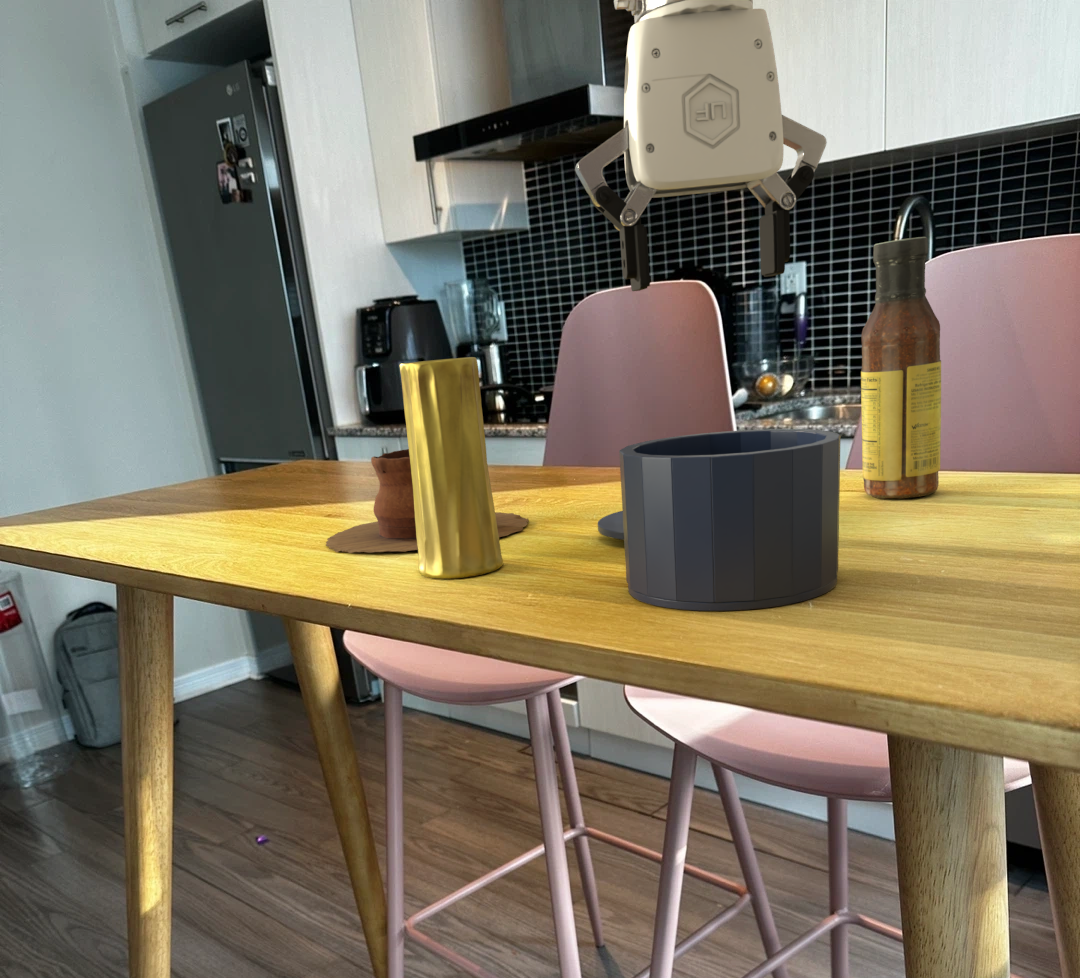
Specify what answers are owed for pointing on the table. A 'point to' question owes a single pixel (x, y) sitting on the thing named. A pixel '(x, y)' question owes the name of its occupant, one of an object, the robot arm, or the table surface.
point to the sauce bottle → (901, 377)
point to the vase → (449, 469)
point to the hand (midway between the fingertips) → (707, 282)
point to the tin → (731, 518)
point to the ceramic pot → (398, 512)
